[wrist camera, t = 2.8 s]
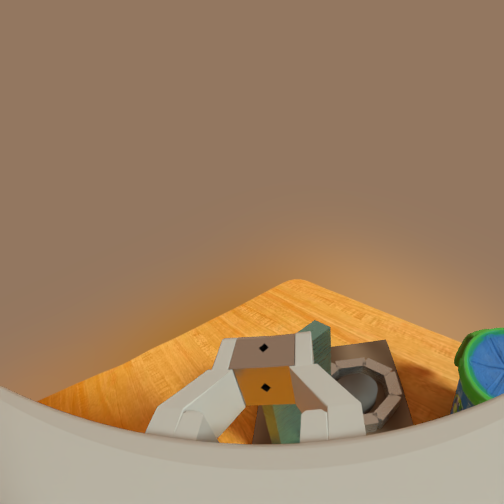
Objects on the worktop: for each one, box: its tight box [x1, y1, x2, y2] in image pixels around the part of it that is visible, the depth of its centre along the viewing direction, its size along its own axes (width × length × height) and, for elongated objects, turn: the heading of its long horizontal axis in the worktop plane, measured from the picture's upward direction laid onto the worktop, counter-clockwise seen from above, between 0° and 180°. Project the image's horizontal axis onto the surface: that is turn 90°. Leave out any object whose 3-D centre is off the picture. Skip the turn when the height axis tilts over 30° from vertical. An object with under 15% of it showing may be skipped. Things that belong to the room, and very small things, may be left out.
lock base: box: [252, 340, 413, 444], centre depth 28 cm, size 17×20×3 cm
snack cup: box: [450, 328, 504, 415], centre depth 17 cm, size 16×10×10 cm
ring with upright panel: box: [262, 320, 402, 444], centre depth 24 cm, size 13×13×14 cm
